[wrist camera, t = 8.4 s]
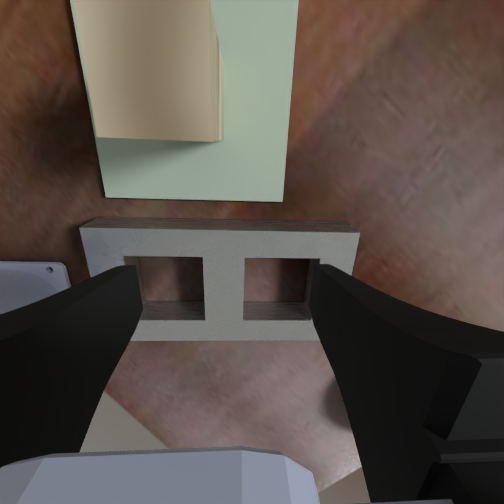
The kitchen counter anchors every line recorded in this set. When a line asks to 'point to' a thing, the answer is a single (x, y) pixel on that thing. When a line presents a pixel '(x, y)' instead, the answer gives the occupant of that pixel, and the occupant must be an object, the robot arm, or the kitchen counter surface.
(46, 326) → the robot arm
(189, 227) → the rail
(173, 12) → the peg
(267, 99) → the mat
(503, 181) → the kitchen counter surface
